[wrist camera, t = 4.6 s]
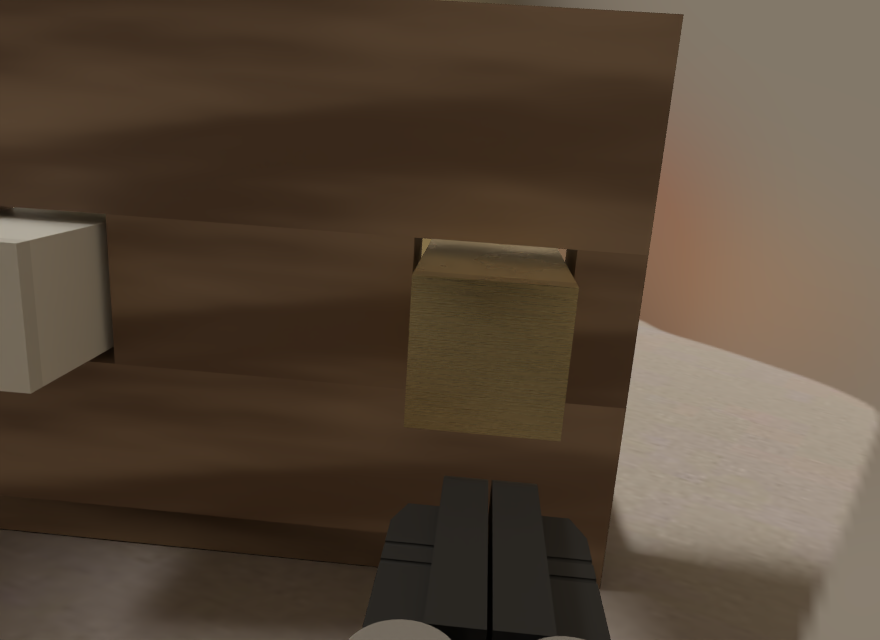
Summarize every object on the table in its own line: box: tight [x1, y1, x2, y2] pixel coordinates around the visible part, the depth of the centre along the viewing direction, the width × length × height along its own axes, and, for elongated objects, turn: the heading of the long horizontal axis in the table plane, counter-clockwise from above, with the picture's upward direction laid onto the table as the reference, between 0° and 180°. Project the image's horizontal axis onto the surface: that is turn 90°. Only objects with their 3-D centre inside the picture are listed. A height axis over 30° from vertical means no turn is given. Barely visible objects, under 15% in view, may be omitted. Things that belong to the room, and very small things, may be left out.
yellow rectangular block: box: [404, 239, 579, 441], centre depth 23 cm, size 8×5×5 cm, turn 176°
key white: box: [0, 207, 114, 394], centre depth 24 cm, size 8×5×5 cm, turn 176°
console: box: [0, 0, 683, 589], centre depth 28 cm, size 8×26×20 cm, turn 86°
